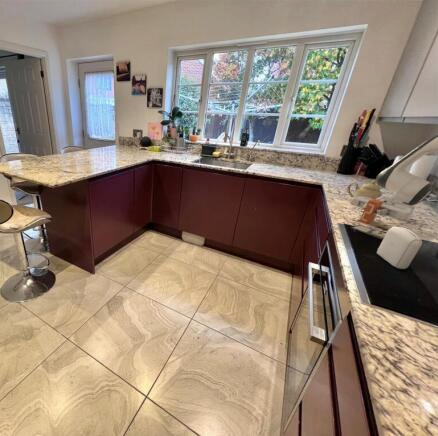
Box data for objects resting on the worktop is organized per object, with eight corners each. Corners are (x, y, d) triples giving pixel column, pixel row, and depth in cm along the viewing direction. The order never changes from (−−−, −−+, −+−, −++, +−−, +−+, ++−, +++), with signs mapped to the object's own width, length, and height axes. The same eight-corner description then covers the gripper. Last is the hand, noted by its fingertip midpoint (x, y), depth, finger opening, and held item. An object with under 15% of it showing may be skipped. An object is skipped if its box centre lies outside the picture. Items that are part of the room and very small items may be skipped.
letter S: (372, 222, 102) (383, 201, 98) (366, 224, 100) (377, 203, 96) (364, 219, 105) (374, 199, 100) (358, 221, 103) (368, 200, 98)
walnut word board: (413, 236, 101) (415, 232, 100) (405, 239, 98) (407, 236, 97) (364, 219, 115) (366, 216, 114) (355, 222, 112) (357, 218, 111)
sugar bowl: (343, 203, 137) (354, 178, 130) (342, 198, 145) (352, 174, 139) (377, 209, 129) (390, 183, 123) (373, 203, 138) (385, 179, 131)
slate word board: (410, 245, 93) (413, 241, 93) (401, 249, 90) (404, 245, 89) (358, 226, 108) (360, 222, 107) (349, 229, 105) (351, 225, 104)
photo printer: (373, 252, 87) (389, 222, 82) (386, 253, 87) (403, 224, 81) (394, 268, 78) (413, 236, 73) (409, 270, 78) (429, 238, 72)
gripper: (362, 192, 112) (346, 195, 106) (420, 207, 96) (405, 212, 90) (356, 204, 115) (341, 207, 109) (412, 221, 98) (397, 226, 93)
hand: (370, 210), depth 99 cm, fingers closed on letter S, 3 cm apart
